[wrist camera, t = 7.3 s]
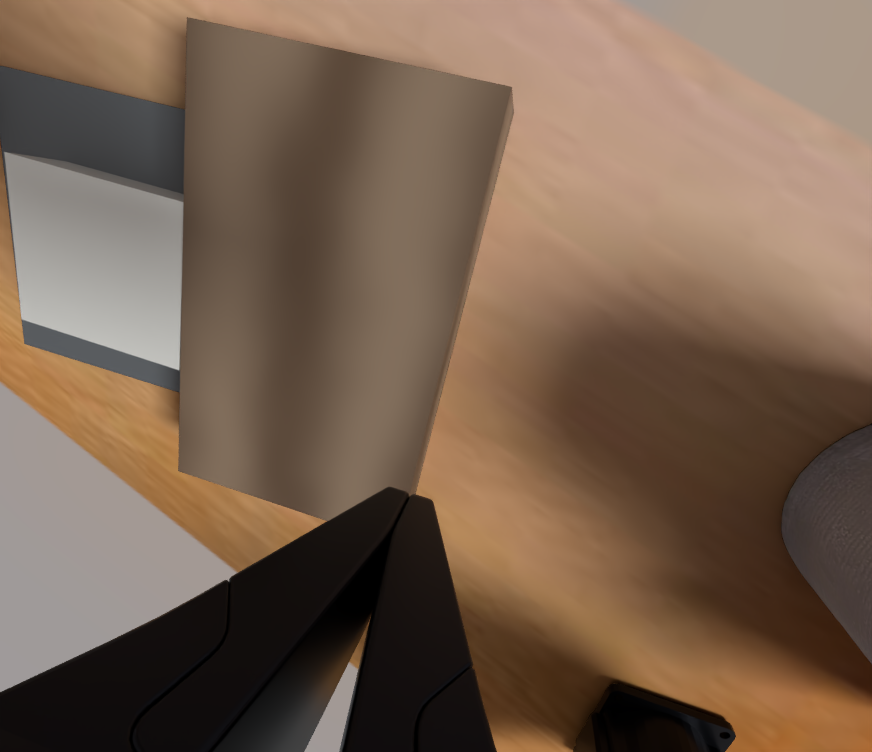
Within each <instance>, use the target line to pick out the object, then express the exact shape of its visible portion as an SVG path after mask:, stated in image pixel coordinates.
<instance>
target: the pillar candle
mask: <svg viewBox="0 0 872 752" xmlns="http://www.w3.org/2000/svg"><path fill="white" fill-rule="evenodd" d="M781 532H782V536H783V540H784V543H785V546H786V548H787V551H788V552H789V554H790V556H791V558H792V560H793V561H794V563H795V565H796V566H797V568H798V569H799V571H800V573H801V574H802V575H803V577H804V578H805V579H806V580H807V582H808V583H809V584H810V586H811V587H812V588H813V589H814V591H815V592H816V593H817V595H818V596H819V597H820V598H821V600H822V601H823V602H824V604H825V605H826V606H827V607H828V609H829V610H830V611H831V613H832V614H833V615H834V616H835V618H836V619H837V620H838V621H839V622H840V624H841V625H842V626H843V627H844V629H845V630H846V631H847V633H848V634H849V635H850V637H851V638H852V639H853V641H854V642H855V643H856V645H857V646H858V647H859V649H860V650H861V651H862V652H863V654H864V655H865V656H866V657H867V658H868V660H869V661H870V662H871V664H872V424H871V425H869V426H867V427H865V428H863V429H860V430H857V431H855V432H853V433H851V434H849V435H847V436H846V437H844V438H842V439H841V440H839V441H837V442H836V443H834V444H833V445H831V446H830V447H829V448H827V449H826V450H824V451H823V452H822V453H821V454H820V455H818V456H817V457H816V458H815V459H814V460H813V461H812V462H811V463H810V464H809V465H808V466H807V467H806V468H805V469H804V470H803V471H802V472H801V473H800V475H799V477H798V478H797V480H796V481H795V483H794V485H793V486H792V488H791V490H790V492H789V495H788V498H787V499H786V501H785V503H784V508H783V513H782V524H781Z"/></svg>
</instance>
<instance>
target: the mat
mask: <svg viewBox="0 0 872 752" xmlns="http://www.w3.org/2000/svg"><path fill="white" fill-rule="evenodd" d="M0 139H1V148H2V156H3V165H4V173H5V182H6V190H7V199H8V207H9V216H10V224H11V233H12V241H13V250H14V240H13V231H12V221H11V212H10V202H9V193H8V183H7V173H6V164H5V154H4V152H9V153H15V154H21V155H28V156H34V157H41V158H47V159H54V160H60V161H67V162H70V163H74V164H77V165H81V166H85V167H88V168H92V169H95V170H99V171H103V172H106V173H110V174H113V175H117V176H120V177H124V178H128V179H131V180H135V181H138V182H142V183H145V184H149V185H153V186H156V187H160V188H163V189H167V190H171V191H174V192H178V193H181V194H184V147H185V110H184V109H180V108H176V107H171V106H167V105H163V104H159V103H155V102H151V101H146V100H142V99H138V98H134V97H130V96H125V95H121V94H117V93H113V92H109V91H104V90H100V89H96V88H92V87H88V86H84V85H79V84H75V83H71V82H67V81H63V80H58V79H54V78H50V77H46V76H42V75H38V74H33V73H29V72H25V71H21V70H17V69H12V68H8V67H4V66H0ZM14 258H15V250H14ZM15 267H16V260H15ZM16 275H17V269H16ZM17 284H18V279H17ZM18 292H19V288H18ZM19 301H20V298H19ZM20 309H21V307H20ZM21 318H22V317H21ZM22 326H23V335H24V343H25V344H27V345H30V346H33V347H36V348H40V349H43V350H46V351H49V352H52V353H55V354H59V355H62V356H65V357H68V358H71V359H75V360H78V361H81V362H84V363H87V364H90V365H94V366H97V367H100V368H103V369H106V370H110V371H113V372H116V373H119V374H122V375H126V376H129V377H132V378H135V379H138V380H141V381H145V382H148V383H151V384H154V385H157V386H161V387H164V388H167V389H170V390H173V391H176V392H180V370H177V369H174V368H170V367H167V366H164V365H161V364H158V363H155V362H152V361H149V360H146V359H143V358H140V357H136V356H133V355H130V354H127V353H124V352H121V351H118V350H115V349H112V348H109V347H106V346H103V345H99V344H96V343H93V342H90V341H87V340H84V339H81V338H78V337H75V336H72V335H69V334H65V333H62V332H59V331H56V330H53V329H50V328H47V327H44V326H41V325H38V324H35V323H31V322H28V321H25V320H22Z"/></svg>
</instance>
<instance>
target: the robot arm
mask: <svg viewBox="0 0 872 752" xmlns="http://www.w3.org/2000/svg"><path fill="white" fill-rule="evenodd" d="M370 617H371V618H370ZM369 619H370V622H369ZM368 622H369V626H368V631H367V635H366V639H365V643H364V648H363V652H362V656H361V661H360V665H359V669H358V673H357V678H356V682H355V686H354V691H353V695H352V699H351V704H350V708H349V712H348V716H347V721H346V725H345V729H344V734H343V738H342V742H341V747H340V751H339V752H497V751H496V748H495V745H494V741H493V737H492V734H491V730H490V727H489V723H488V719H487V716H486V712H485V709H484V705H483V701H482V698H481V694H480V690H479V685H478V681H477V677H476V673H475V670H474V669H473V668H472V667H473V662H472V658H471V654H470V650H469V646H468V642H467V638H466V634H465V629H464V625H463V621H462V617H461V613H460V609H459V605H458V601H457V597H456V593H455V589H454V585H453V580H452V576H451V572H450V568H449V564H448V560H447V556H446V552H445V548H444V544H443V540H442V536H441V531H440V527H439V523H438V519H437V515H436V511H435V507H434V503H433V501H432V500H431V499H428V498H425V497H422V496H419V495H416V494H412V495H411V496H410V495H409V493H408V492H406V491H403V490H400V489H397V488H394V487H386V488H384V489H383V490H381V491H379V492H378V493H376V494H374V495H372V496H371V497H369V498H367V499H365V500H364V501H362V502H360V503H358V504H357V505H355V506H353V507H351V508H350V509H348V510H346V511H345V512H343V513H341V514H339V515H338V516H336V517H334V518H332V519H331V520H329V521H327V522H325V523H324V524H322V525H320V526H318V527H317V528H315V529H313V530H312V531H310V532H308V533H306V534H305V535H303V536H301V537H299V538H298V539H296V540H294V541H292V542H291V543H289V544H287V545H285V546H284V547H282V548H280V549H279V550H277V551H275V552H273V553H272V554H270V555H268V556H266V557H265V558H263V559H261V560H259V561H258V562H256V563H254V564H252V565H251V566H249V567H247V568H246V569H244V570H242V571H240V572H239V573H237V574H235V575H234V576H232V577H231V578H230V579H229V582H228V581H227V580H224V581H223V582H221V583H219V584H217V585H216V586H214V587H212V588H210V589H209V590H207V591H205V592H204V593H202V594H200V595H198V596H196V597H194V598H193V599H191V600H189V601H187V602H185V603H183V604H182V605H180V606H178V607H176V608H174V609H172V610H170V611H169V612H167V613H165V614H163V615H161V616H160V617H157V618H155V619H153V620H151V621H149V622H147V623H145V624H143V625H141V626H139V627H137V628H135V629H133V630H131V631H129V632H127V633H125V634H123V635H121V636H119V637H117V638H115V639H113V640H111V641H109V642H107V643H104V644H103V645H100V646H98V647H96V648H94V649H92V650H90V651H87V652H85V653H83V654H81V655H79V656H77V657H75V658H73V659H70V660H68V661H66V662H64V663H62V664H60V665H58V666H55V667H53V668H51V669H49V670H47V671H45V672H43V673H40V674H38V675H37V676H34V677H32V678H30V679H28V680H26V681H23V682H21V683H19V684H17V685H15V686H13V687H11V688H8V689H6V690H4V691H2V692H0V752H304V751H305V749H306V747H307V745H308V743H309V741H310V739H311V737H312V735H313V733H314V731H315V729H316V727H317V725H318V723H319V721H320V719H321V717H322V715H323V713H324V711H325V709H326V707H327V705H328V703H329V701H330V699H331V697H332V695H333V693H334V691H335V689H336V687H337V685H338V683H339V681H340V679H341V677H342V675H343V673H344V671H345V669H346V667H347V665H348V663H349V661H350V659H351V657H352V655H353V653H354V651H355V649H356V647H357V645H358V643H359V641H360V639H361V637H362V635H363V632H364V630H365V628H366V626H367V624H368ZM735 737H736V735H735V732H734V730H733V728H732V725H731V724H730V723H728V722H726V721H724V720H721V719H718V718H715V717H712V716H710V715H707V714H704V713H701V712H698V711H695V710H692V709H690V708H687V707H684V706H681V705H678V704H675V703H672V702H670V701H667V700H664V699H661V698H658V697H655V696H652V695H650V694H647V693H644V692H641V691H638V690H635V689H632V688H630V687H627V686H624V685H621V684H612V685H610V686H609V687H608V688H607V690H606V692H605V694H604V695H603V697H602V699H601V701H600V703H599V704H598V706H597V708H596V710H595V711H594V712H593V713H592V714H591V715H590V716H589V718H588V720H587V722H586V724H585V725H584V727H583V729H582V731H581V733H580V734H579V736H578V738H577V740H576V745H575V747H574V749H573V752H725V751H726V750H727V749H728V747H729V746H730V745H731V743H732V742H733V741H734V739H735Z"/></svg>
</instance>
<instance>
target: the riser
mask: <svg viewBox="0 0 872 752" xmlns="http://www.w3.org/2000/svg"><path fill="white" fill-rule="evenodd" d="M513 114H514V109H513V97H512V87H509V86H505V85H500V84H495V83H491V82H486V81H481V80H477V79H472V78H467V77H463V76H458V75H453V74H449V73H444V72H439V71H435V70H430V69H425V68H421V67H416V66H411V65H407V64H402V63H397V62H393V61H388V60H384V59H379V58H374V57H370V56H365V55H360V54H356V53H351V52H346V51H342V50H337V49H332V48H328V47H323V46H318V45H314V44H309V43H304V42H300V41H295V40H290V39H286V38H281V37H276V36H272V35H267V34H262V33H258V32H253V31H248V30H244V29H239V28H234V27H230V26H225V25H220V24H216V23H211V22H206V21H202V20H197V19H192V18H188V17H187V41H186V94H185V147H184V200H183V253H182V306H181V359H180V413H179V466H178V471H180V472H183V473H186V474H189V475H192V476H195V477H198V478H201V479H204V480H207V481H210V482H213V483H216V484H219V485H222V486H225V487H228V488H230V489H233V490H236V491H239V492H242V493H245V494H248V495H251V496H254V497H257V498H260V499H263V500H266V501H269V502H272V503H275V504H278V505H281V506H284V507H287V508H290V509H293V510H296V511H299V512H302V513H305V514H308V515H311V516H314V517H317V518H320V519H323V520H326V521H329V520H331V519H332V518H334V517H336V516H338V515H339V514H341V513H343V512H345V511H346V510H348V509H350V508H351V507H353V506H355V505H357V504H358V503H360V502H362V501H364V500H365V499H367V498H369V497H371V496H372V495H374V494H376V493H378V492H379V491H381V490H383V489H384V488H386V487H394V488H397V489H400V490H403V491H406V492H408V493H409V495H410V496H411V495H412V494H416V490H417V486H418V482H419V478H420V474H421V471H422V467H423V463H424V459H425V455H426V451H427V447H428V443H429V440H430V436H431V432H432V428H433V424H434V420H435V416H436V412H437V408H438V405H439V401H440V397H441V393H442V389H443V385H444V381H445V377H446V374H447V370H448V366H449V362H450V358H451V354H452V350H453V346H454V343H455V339H456V335H457V331H458V327H459V323H460V319H461V315H462V312H463V308H464V304H465V300H466V296H467V292H468V288H469V284H470V280H471V277H472V273H473V269H474V265H475V261H476V257H477V253H478V249H479V246H480V242H481V238H482V234H483V230H484V226H485V222H486V218H487V215H488V211H489V207H490V203H491V199H492V195H493V191H494V187H495V184H496V180H497V176H498V172H499V168H500V164H501V160H502V156H503V152H504V149H505V145H506V141H507V137H508V133H509V129H510V125H511V121H512V118H513Z"/></svg>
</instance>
